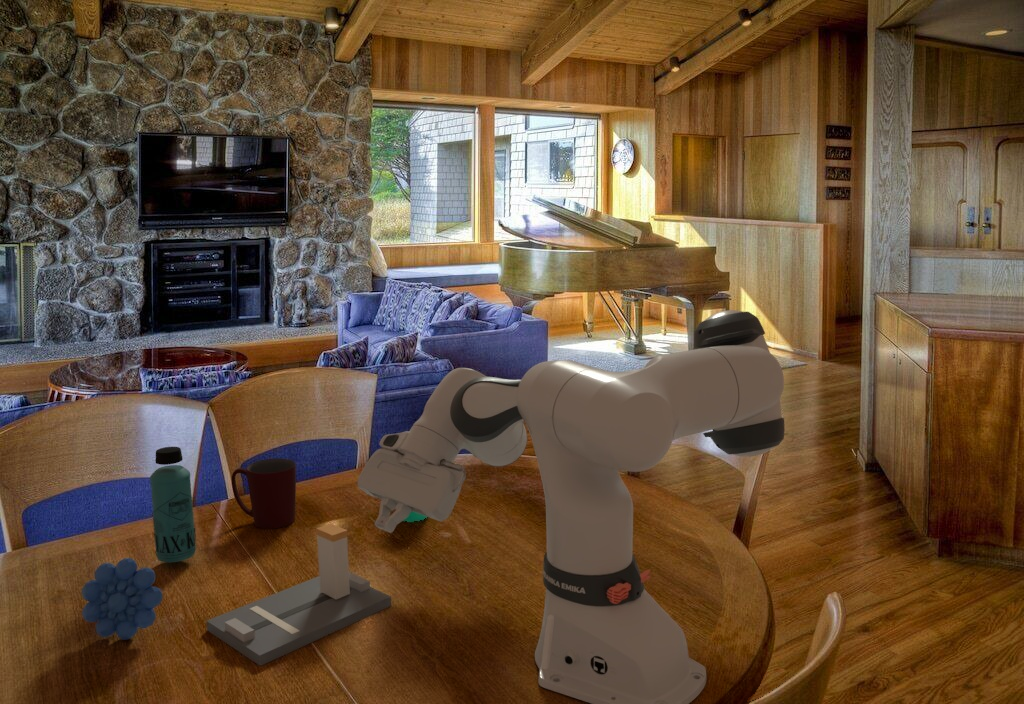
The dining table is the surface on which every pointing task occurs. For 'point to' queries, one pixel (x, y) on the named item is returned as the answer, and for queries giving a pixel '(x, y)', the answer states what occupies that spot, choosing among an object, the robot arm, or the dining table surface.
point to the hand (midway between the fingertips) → (382, 529)
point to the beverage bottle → (172, 508)
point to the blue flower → (121, 599)
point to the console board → (295, 618)
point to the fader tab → (333, 561)
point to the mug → (269, 492)
